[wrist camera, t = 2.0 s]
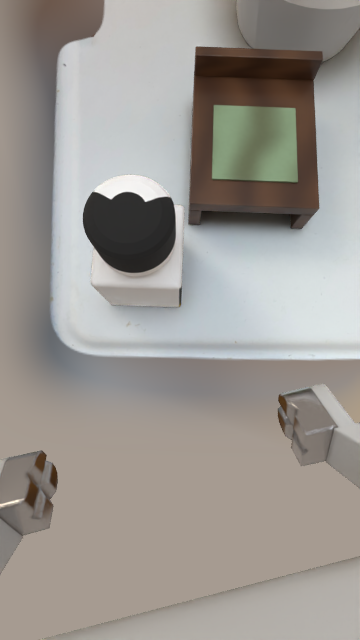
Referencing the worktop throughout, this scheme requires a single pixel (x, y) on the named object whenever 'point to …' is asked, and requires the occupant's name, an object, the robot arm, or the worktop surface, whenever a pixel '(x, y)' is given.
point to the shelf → (254, 133)
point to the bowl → (299, 24)
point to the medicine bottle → (135, 242)
